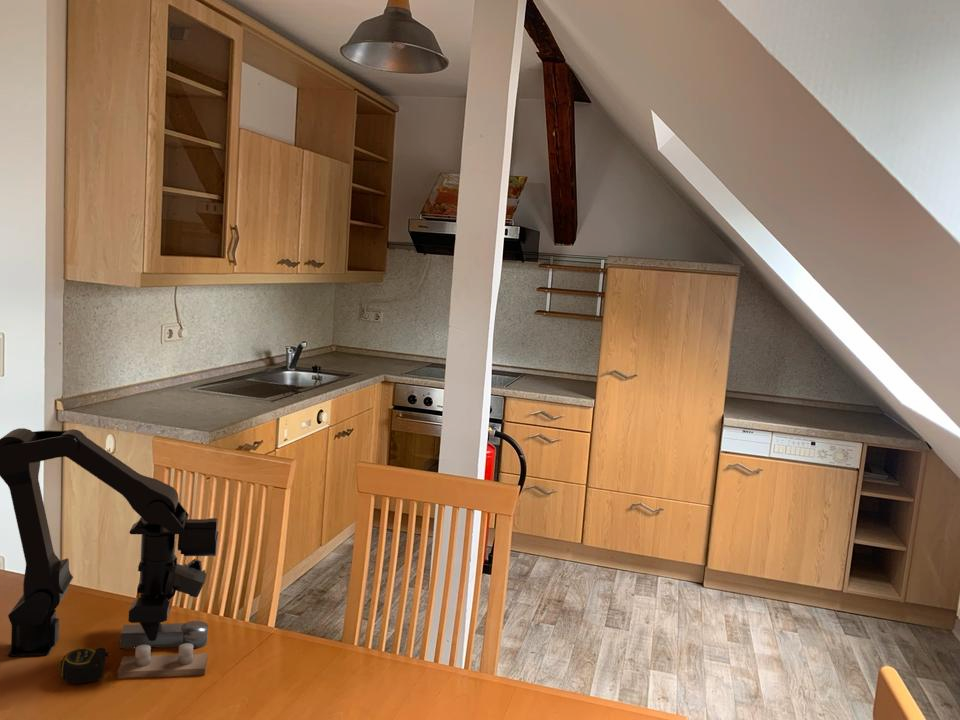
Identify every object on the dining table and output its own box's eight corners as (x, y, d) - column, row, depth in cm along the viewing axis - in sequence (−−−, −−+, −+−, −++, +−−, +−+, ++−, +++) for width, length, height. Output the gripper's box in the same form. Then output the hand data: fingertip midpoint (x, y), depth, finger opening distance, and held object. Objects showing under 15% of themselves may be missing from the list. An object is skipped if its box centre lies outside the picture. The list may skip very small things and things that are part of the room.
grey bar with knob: (118, 651, 138) (119, 635, 138) (124, 637, 143) (124, 622, 143) (206, 648, 142) (207, 632, 142) (208, 635, 147) (209, 620, 146)
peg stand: (117, 678, 130) (118, 656, 129) (123, 662, 135) (124, 641, 134) (204, 674, 134) (205, 653, 133) (207, 659, 138) (208, 638, 138)
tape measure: (101, 686, 128) (102, 665, 127) (55, 689, 126) (56, 668, 125) (108, 664, 134) (109, 644, 134) (64, 667, 132) (65, 646, 132)
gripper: (199, 576, 133) (194, 660, 135) (209, 536, 151) (204, 611, 153) (129, 577, 130) (126, 663, 132) (148, 536, 148) (144, 612, 150)
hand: (154, 635), depth 142 cm, fingers closed on grey bar with knob, 3 cm apart
